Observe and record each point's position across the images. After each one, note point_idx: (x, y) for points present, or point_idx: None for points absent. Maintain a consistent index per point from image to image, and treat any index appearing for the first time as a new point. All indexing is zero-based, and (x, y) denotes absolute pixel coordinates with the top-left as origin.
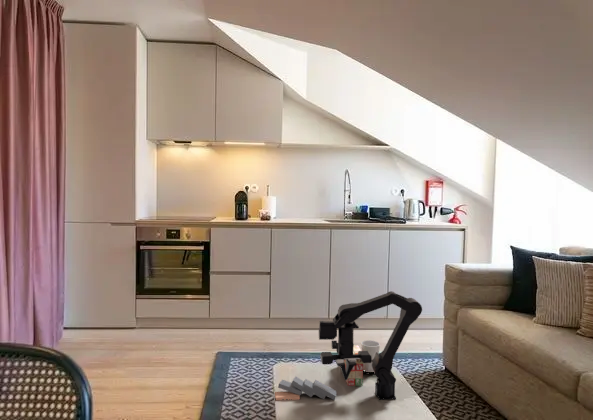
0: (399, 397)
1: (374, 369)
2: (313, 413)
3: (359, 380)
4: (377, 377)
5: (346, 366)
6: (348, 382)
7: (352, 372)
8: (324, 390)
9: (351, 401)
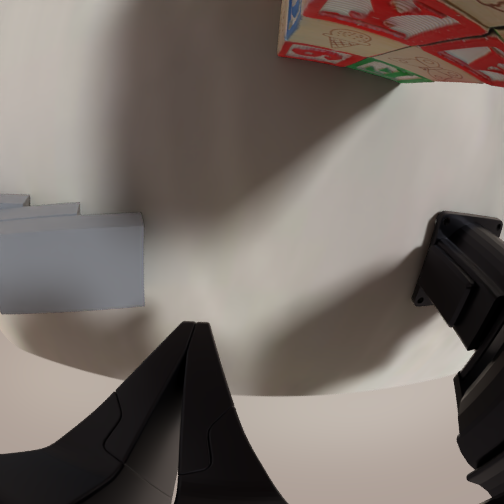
0: None
1: (481, 438)
2: (80, 365)
3: (399, 71)
4: (461, 400)
5: (185, 471)
6: (288, 50)
7: (364, 36)
8: (63, 311)
9: (246, 310)
